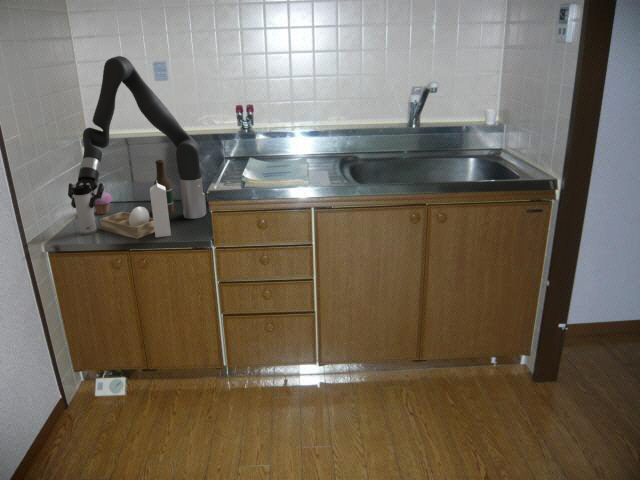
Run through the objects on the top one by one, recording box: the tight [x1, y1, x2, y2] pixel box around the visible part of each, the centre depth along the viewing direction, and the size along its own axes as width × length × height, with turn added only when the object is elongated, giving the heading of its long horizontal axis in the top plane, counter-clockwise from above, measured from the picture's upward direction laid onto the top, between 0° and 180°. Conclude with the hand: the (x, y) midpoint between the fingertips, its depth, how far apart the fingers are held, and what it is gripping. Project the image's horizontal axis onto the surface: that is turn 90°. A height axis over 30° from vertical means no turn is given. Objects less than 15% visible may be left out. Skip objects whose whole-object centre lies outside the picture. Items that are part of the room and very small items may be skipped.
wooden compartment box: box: [98, 211, 155, 240], centre depth 225 cm, size 12×22×4 cm, turn 58°
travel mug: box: [73, 185, 98, 236], centre depth 220 cm, size 6×7×20 cm
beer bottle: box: [153, 159, 175, 215], centre depth 243 cm, size 8×8×24 cm
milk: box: [149, 183, 172, 238], centre depth 216 cm, size 6×6×22 cm
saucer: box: [129, 206, 150, 227], centre depth 221 cm, size 10×1×10 cm, turn 148°
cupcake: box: [91, 191, 113, 215], centre depth 246 cm, size 9×9×10 cm
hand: (82, 207), depth 218 cm, fingers closed on travel mug, 6 cm apart
